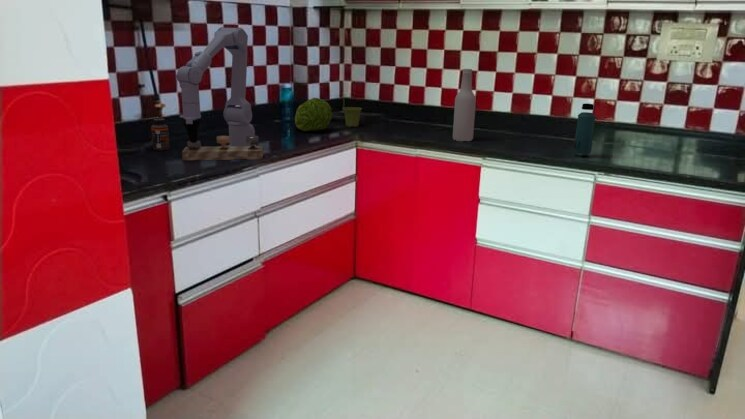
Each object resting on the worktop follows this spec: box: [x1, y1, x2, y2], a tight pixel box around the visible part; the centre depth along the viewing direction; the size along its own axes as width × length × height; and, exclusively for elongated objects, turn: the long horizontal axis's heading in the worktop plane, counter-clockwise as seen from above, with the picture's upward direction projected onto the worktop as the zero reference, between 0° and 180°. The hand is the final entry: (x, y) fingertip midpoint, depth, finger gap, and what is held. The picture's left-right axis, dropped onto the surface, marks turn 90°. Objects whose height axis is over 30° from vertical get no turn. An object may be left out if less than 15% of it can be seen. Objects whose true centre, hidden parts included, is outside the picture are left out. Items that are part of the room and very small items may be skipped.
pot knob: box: [216, 135, 230, 148], centre depth 198 cm, size 4×4×4 cm
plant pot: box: [342, 106, 363, 128], centre depth 274 cm, size 9×9×9 cm
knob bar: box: [181, 145, 264, 161], centre depth 199 cm, size 27×9×3 cm, turn 100°
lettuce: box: [294, 97, 333, 132], centre depth 258 cm, size 15×25×16 cm
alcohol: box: [452, 68, 477, 142], centre depth 240 cm, size 9×9×30 cm
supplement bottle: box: [150, 118, 171, 151], centre depth 208 cm, size 6×6×11 cm
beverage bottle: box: [572, 102, 596, 155], centre depth 212 cm, size 6×7×20 cm
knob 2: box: [246, 135, 260, 148], centre depth 199 cm, size 4×4×4 cm
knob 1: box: [186, 140, 202, 150], centre depth 196 cm, size 4×4×4 cm
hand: (193, 141), depth 196 cm, fingers closed, pressing on knob 1
